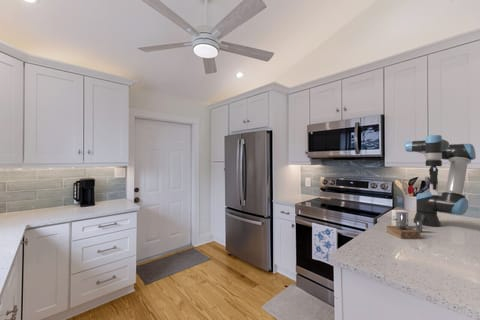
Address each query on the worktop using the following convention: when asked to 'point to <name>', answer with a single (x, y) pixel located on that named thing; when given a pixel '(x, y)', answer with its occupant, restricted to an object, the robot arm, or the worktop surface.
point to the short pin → (419, 226)
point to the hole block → (403, 232)
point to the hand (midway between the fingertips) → (433, 193)
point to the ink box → (398, 217)
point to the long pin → (403, 221)
